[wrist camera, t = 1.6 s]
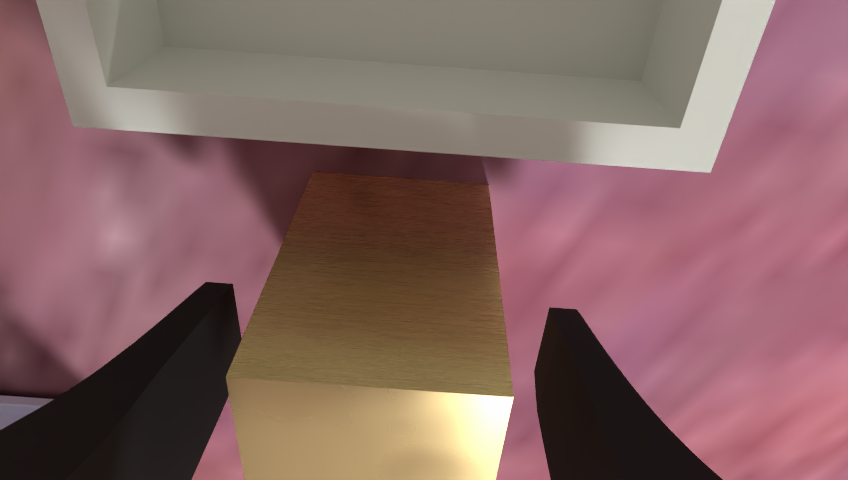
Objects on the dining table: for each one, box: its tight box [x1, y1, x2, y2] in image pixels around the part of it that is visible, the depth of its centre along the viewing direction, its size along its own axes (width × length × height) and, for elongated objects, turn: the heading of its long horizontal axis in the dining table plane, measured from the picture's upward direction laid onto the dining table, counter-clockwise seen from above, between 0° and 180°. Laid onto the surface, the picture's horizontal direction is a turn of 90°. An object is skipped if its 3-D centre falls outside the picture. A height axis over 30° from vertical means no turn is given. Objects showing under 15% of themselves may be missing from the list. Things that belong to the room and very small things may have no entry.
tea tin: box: [226, 171, 513, 480], centre depth 13 cm, size 4×4×7 cm
